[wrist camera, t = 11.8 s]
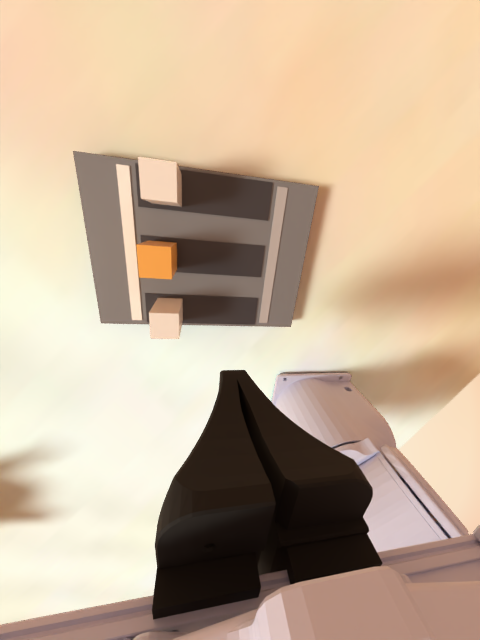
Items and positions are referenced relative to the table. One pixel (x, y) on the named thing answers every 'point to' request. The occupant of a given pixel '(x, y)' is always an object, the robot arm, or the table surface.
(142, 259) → the breaker
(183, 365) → the table surface
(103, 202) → the panel
